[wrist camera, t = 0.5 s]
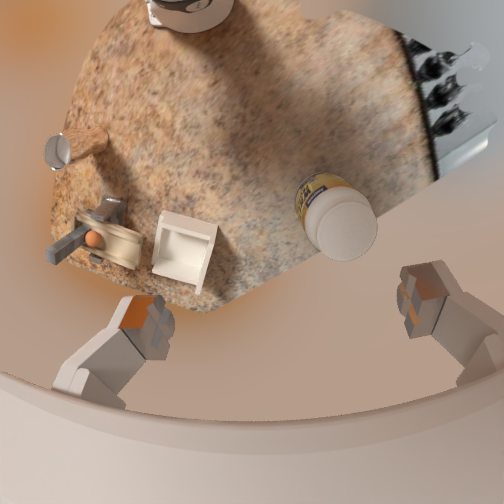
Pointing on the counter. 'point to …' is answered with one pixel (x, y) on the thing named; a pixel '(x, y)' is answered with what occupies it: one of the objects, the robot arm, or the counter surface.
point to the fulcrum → (108, 217)
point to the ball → (92, 238)
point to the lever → (109, 247)
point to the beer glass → (73, 146)
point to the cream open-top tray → (183, 248)
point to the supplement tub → (335, 216)
